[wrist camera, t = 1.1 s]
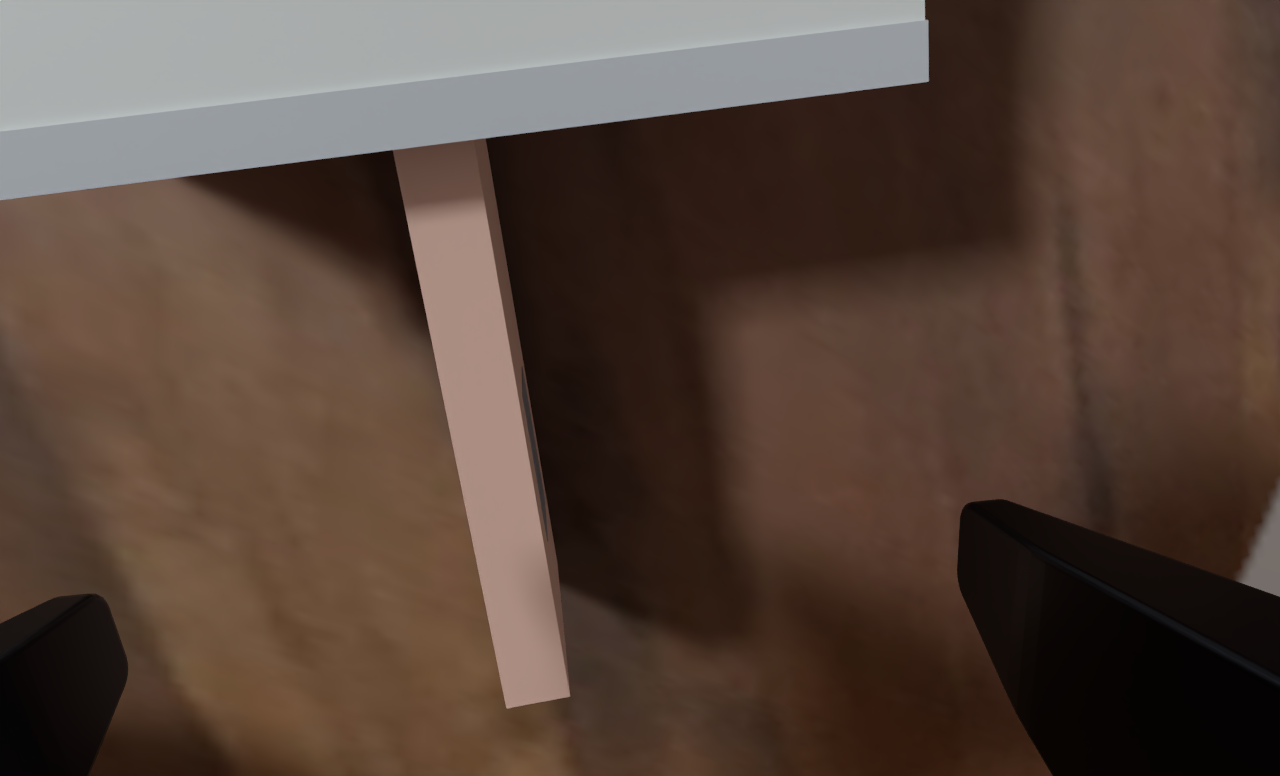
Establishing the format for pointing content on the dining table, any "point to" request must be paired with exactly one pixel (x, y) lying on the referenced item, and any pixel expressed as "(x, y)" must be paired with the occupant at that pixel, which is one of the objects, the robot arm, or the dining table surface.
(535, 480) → the pink plank
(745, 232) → the dining table surface
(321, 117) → the white box
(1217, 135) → the dining table surface
